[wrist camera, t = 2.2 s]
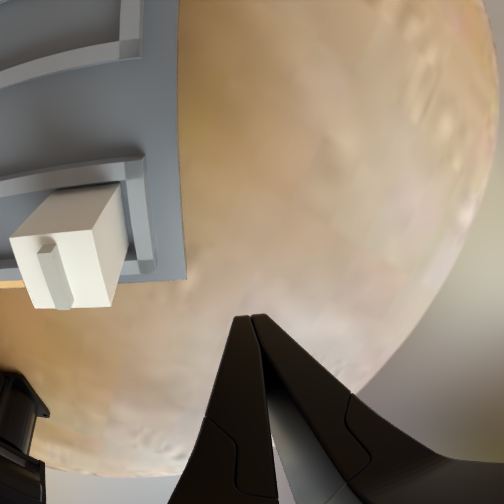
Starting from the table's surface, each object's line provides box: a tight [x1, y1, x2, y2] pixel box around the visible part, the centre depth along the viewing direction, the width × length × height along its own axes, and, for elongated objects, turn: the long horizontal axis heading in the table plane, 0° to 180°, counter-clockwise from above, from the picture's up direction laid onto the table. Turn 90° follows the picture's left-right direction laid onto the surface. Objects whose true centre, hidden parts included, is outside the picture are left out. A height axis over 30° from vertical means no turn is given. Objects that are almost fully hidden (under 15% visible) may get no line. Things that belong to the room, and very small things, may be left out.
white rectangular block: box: [9, 183, 129, 310], centre depth 12 cm, size 3×4×5 cm
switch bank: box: [0, 0, 187, 289], centre depth 11 cm, size 18×16×2 cm
